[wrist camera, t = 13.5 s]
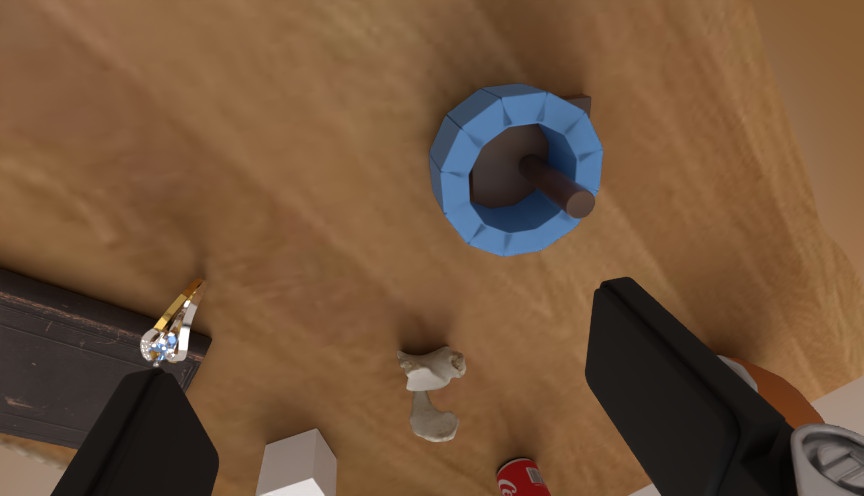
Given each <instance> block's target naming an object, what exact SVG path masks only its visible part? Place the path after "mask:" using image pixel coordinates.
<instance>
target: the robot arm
mask: <svg viewBox="0 0 864 496" xmlns="http://www.w3.org/2000/svg"><path fill="white" fill-rule="evenodd" d="M585 376H586V380H587V383H588V385H589V387H590V389H591V390H592V392H593V393H594V395H595V396H596V398H597V399H598V401H599V402H600V404H601V405H602V407H603V408H604V410H605V411H606V413H607V414H608V416H609V417H610V419H611V420H612V422H613V423H614V425H615V426H616V428H617V429H618V431H619V432H620V434H621V435H622V437H623V438H624V440H625V442H626V443H627V445H628V446H629V448H630V449H631V451H632V452H633V454H634V455H635V457H636V458H637V460H638V461H639V463H640V464H641V466H642V467H643V469H644V470H645V472H646V473H647V475H648V476H649V478H650V479H651V481H652V482H653V484H654V485H655V487H656V488H657V490H658V491H659V493H660V494H661V496H864V436H861V435H860V434H858V433H856V432H853V431H850V430H847V429H845V428H842V427H839V426H834V425H829V424H824V423H808V424H805V425H802V426H799V427H797V428H796V429H794V428H793V427H792V426H791V425H789V424H788V423H787V422H786V421H785V419H786V418H785V417H784V416H783V415H782V414H781V413H779V412H778V411H777V410H776V409H775V408H774V407H773V406H772V405H771V404H770V403H768V402H767V401H766V400H765V399H764V398H763V397H762V396H761V395H760V394H759V393H757V392H756V391H755V390H754V389H753V388H752V387H751V386H750V385H749V384H747V383H746V382H745V381H744V380H743V379H742V378H741V377H740V376H739V375H738V374H736V373H735V372H734V371H733V370H732V369H731V368H730V367H729V366H728V365H727V364H725V363H724V362H723V361H722V360H721V359H720V358H719V357H718V356H717V355H716V354H714V353H713V352H712V351H711V350H710V349H709V348H708V347H707V346H706V345H705V344H703V343H702V342H701V341H700V340H699V339H698V338H697V337H696V336H695V335H694V334H692V333H691V332H690V331H689V330H688V329H687V328H686V327H685V326H684V325H683V324H681V323H680V322H679V321H678V320H677V319H676V318H675V317H674V316H673V315H672V314H670V313H669V312H668V311H667V310H666V309H665V308H664V307H663V306H662V305H660V304H659V303H658V302H657V301H656V300H655V299H654V298H653V297H652V296H651V295H649V294H648V293H647V292H646V291H645V290H644V289H643V288H642V287H641V286H640V285H638V284H637V283H636V282H635V281H634V280H633V279H631V278H630V277H622V278H617V279H612V280H607V281H603V282H602V283H601V285H600V288H599V289H596V290H595V292H594V298H593V307H592V315H591V324H590V333H589V342H588V351H587V359H586V368H585ZM218 468H219V457H218V453H217V451H216V449H215V447H214V446H213V444H212V442H211V440H210V438H209V437H208V435H207V433H206V431H205V430H204V428H203V426H202V424H201V422H200V421H199V419H198V417H197V415H196V413H195V412H194V410H193V408H192V406H191V405H190V403H189V401H188V399H187V397H186V396H185V394H184V392H183V390H182V388H181V387H180V385H179V383H178V381H177V380H176V378H175V376H174V375H173V374H172V373H165V371H164V370H163V369H161V368H154V369H149V370H144V371H138V372H133V373H129V374H127V375H125V376H124V377H123V379H122V380H121V382H120V383H119V385H118V386H117V388H116V390H115V391H114V393H113V395H112V396H111V398H110V399H109V401H108V403H107V404H106V406H105V408H104V409H103V411H102V412H101V414H100V416H99V417H98V419H97V421H96V422H95V424H94V425H93V427H92V429H91V430H90V432H89V434H88V435H87V437H86V438H85V440H84V442H83V443H82V445H81V447H80V448H79V450H78V451H77V453H76V455H75V456H74V458H73V460H72V461H71V463H70V464H69V466H68V468H67V469H66V471H65V473H64V474H63V476H62V478H61V479H60V481H59V482H58V484H57V486H56V487H55V489H54V491H53V492H52V494H51V495H50V496H211V494H212V490H213V487H214V483H215V479H216V476H217V472H218Z"/></svg>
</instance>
